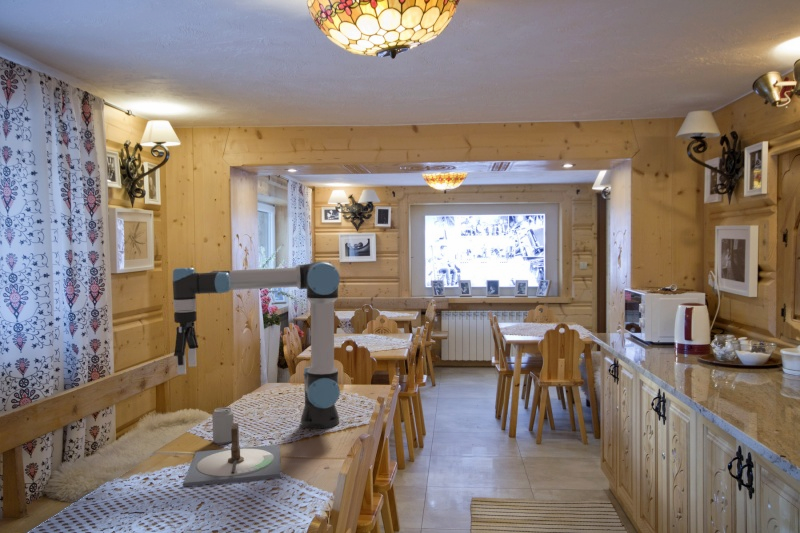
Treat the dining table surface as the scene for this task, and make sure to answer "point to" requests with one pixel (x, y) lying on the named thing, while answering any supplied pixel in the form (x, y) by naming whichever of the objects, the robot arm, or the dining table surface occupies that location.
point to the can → (222, 425)
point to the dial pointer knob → (235, 447)
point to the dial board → (254, 467)
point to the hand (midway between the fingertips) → (187, 370)
